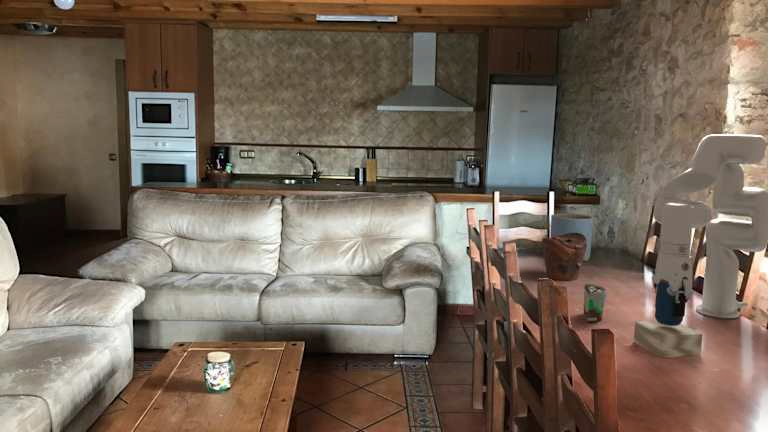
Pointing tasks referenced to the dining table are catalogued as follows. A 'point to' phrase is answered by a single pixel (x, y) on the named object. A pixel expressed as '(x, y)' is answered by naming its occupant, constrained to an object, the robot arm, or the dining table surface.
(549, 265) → the brown tapered round vessel
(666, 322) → the soda can
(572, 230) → the planter
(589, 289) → the food container
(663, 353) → the ash block
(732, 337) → the dining table surface
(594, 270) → the dining table surface
